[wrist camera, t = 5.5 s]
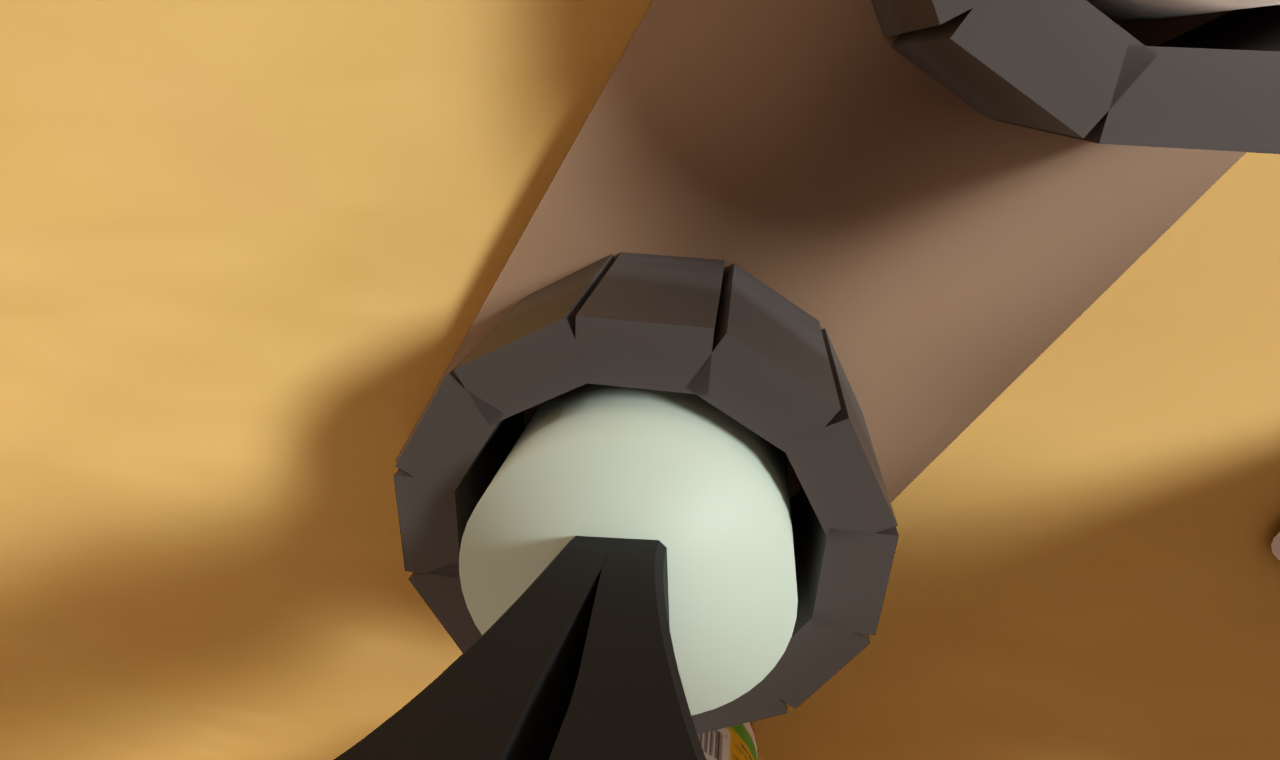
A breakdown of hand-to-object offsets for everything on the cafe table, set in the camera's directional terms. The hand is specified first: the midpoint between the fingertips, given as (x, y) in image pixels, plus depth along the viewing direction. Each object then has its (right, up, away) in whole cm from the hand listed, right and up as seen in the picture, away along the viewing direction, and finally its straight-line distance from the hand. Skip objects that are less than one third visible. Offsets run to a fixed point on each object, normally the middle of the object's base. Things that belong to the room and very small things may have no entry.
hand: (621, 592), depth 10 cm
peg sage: (+1, +1, +3) cm, 3 cm away
